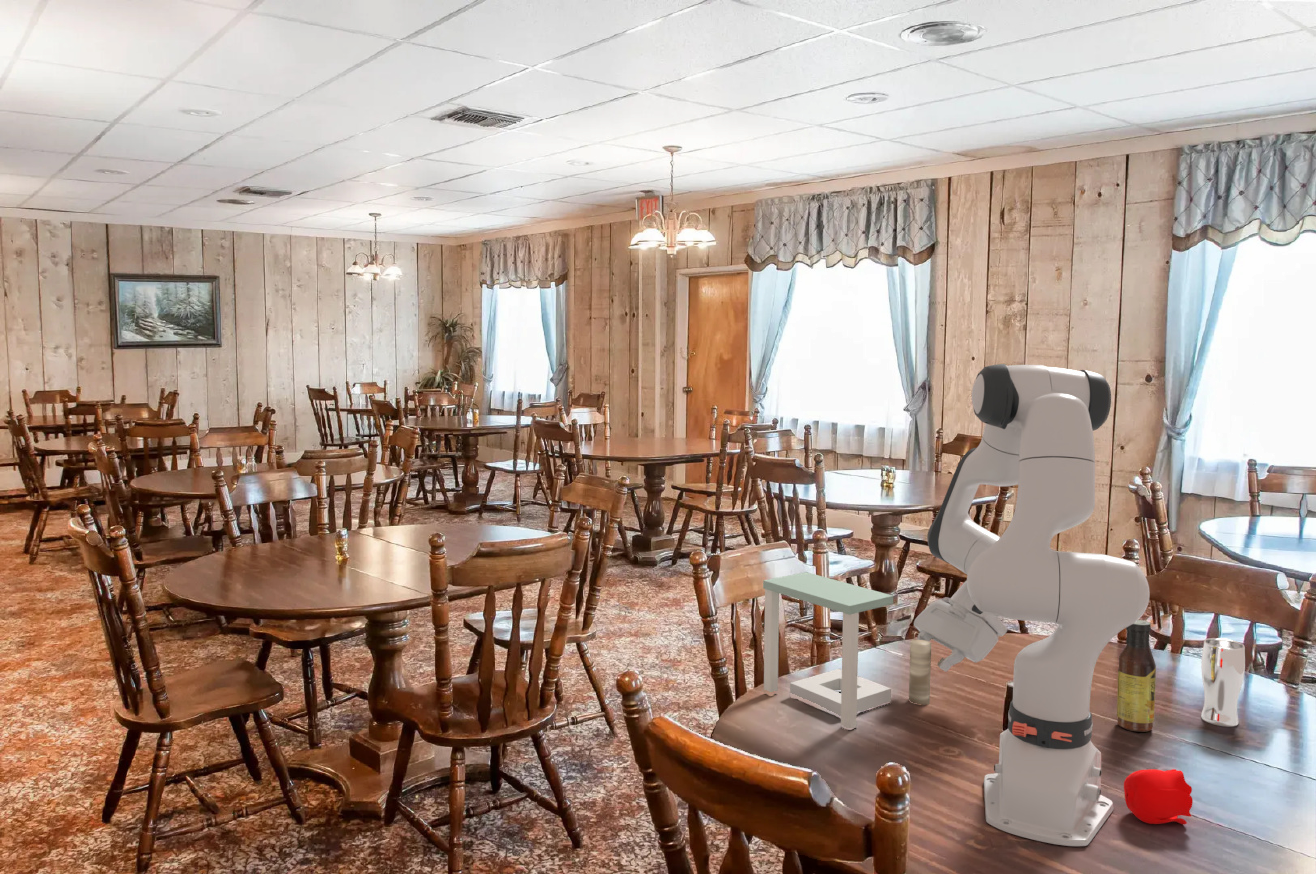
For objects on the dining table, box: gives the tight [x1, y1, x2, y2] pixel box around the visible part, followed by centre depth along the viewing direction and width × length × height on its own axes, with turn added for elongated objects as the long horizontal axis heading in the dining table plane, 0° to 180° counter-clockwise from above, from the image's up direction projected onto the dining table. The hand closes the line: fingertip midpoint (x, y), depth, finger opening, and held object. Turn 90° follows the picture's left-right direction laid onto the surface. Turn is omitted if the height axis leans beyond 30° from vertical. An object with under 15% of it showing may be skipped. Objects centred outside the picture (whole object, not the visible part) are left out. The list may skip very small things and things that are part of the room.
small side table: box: [762, 571, 894, 728], centre depth 183 cm, size 12×23×24 cm, turn 36°
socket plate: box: [789, 668, 892, 716], centre depth 186 cm, size 14×14×3 cm
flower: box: [1123, 768, 1194, 825], centre depth 139 cm, size 8×8×8 cm
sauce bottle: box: [1116, 619, 1157, 733], centre depth 173 cm, size 7×6×20 cm
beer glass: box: [1200, 637, 1246, 728], centre depth 176 cm, size 7×7×15 cm
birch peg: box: [908, 639, 932, 706], centre depth 185 cm, size 4×4×12 cm
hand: (927, 660), depth 186 cm, fingers open, 8 cm apart
